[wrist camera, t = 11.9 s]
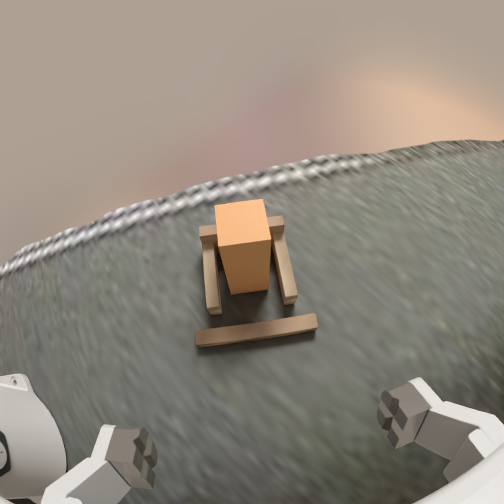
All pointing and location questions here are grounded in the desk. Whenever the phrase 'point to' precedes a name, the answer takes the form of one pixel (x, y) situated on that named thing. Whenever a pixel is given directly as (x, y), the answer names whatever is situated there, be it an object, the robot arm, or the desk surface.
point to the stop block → (244, 245)
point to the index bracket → (280, 255)
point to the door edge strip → (256, 330)
